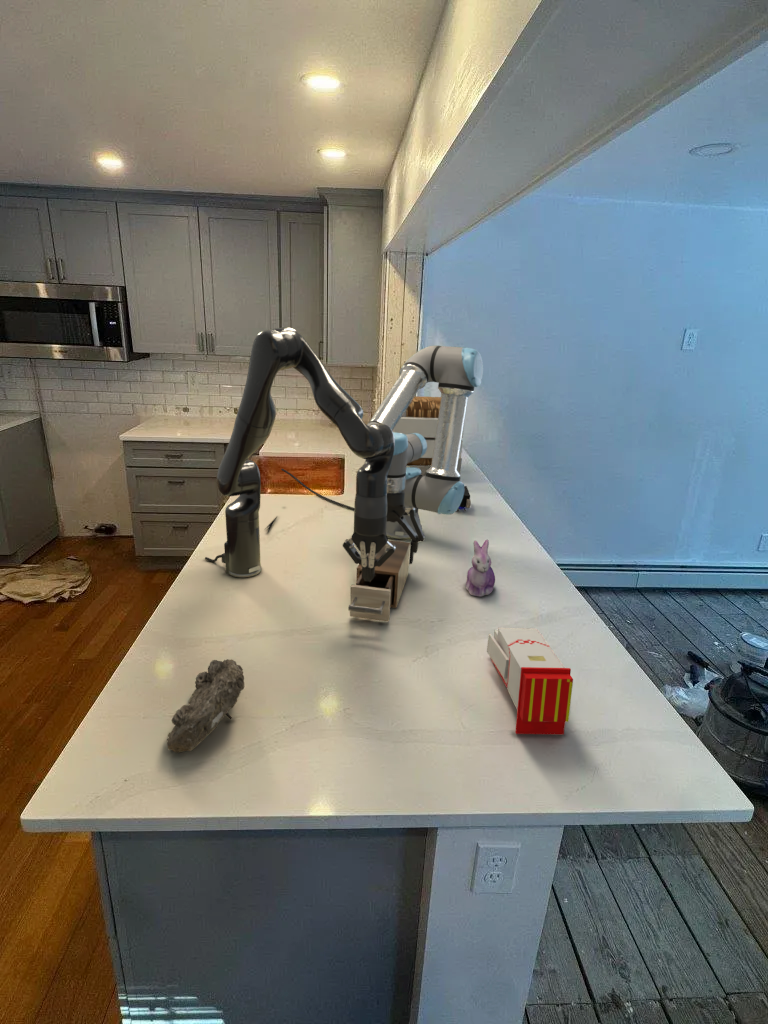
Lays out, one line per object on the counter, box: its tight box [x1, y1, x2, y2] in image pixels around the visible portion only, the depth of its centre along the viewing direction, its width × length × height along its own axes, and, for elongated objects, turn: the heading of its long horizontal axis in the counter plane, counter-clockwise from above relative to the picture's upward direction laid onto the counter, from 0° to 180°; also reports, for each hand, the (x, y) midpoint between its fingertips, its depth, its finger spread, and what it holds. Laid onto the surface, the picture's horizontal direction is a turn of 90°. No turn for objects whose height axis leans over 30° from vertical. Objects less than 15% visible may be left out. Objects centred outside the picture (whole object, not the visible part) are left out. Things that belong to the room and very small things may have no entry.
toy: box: [486, 627, 574, 736], centre depth 118 cm, size 12×13×30 cm
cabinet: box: [355, 539, 411, 609], centre depth 159 cm, size 21×11×10 cm, turn 169°
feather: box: [264, 516, 278, 533], centre depth 207 cm, size 2×28×2 cm
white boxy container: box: [393, 394, 465, 475], centre depth 268 cm, size 34×33×41 cm
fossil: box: [166, 658, 245, 754], centre depth 106 cm, size 22×10×15 cm
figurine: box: [465, 539, 496, 597], centre depth 159 cm, size 9×10×15 cm
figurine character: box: [456, 485, 472, 513], centre depth 228 cm, size 7×8×15 cm
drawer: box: [348, 573, 395, 622], centre depth 148 cm, size 25×10×8 cm, turn 169°
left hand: (368, 579), depth 135 cm, fingers closed
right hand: (388, 559), depth 164 cm, fingers open, 13 cm apart
